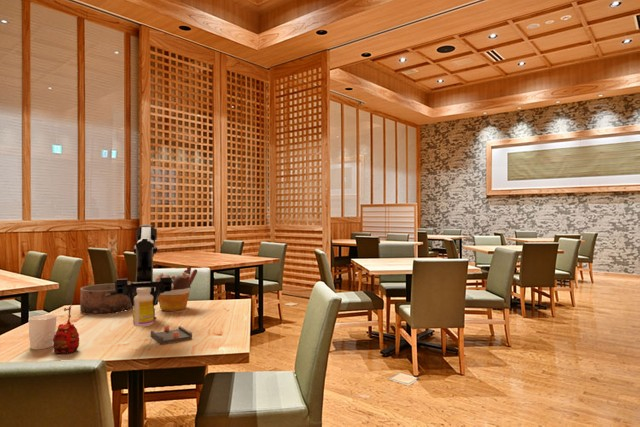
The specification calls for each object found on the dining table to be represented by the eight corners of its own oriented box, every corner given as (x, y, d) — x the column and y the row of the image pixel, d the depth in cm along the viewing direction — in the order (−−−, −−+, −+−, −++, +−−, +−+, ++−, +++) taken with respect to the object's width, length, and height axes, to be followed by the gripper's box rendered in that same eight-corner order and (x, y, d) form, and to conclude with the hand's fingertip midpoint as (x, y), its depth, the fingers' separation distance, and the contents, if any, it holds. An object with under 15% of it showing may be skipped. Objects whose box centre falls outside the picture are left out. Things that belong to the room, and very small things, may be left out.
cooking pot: (67, 309, 199) (68, 286, 199) (113, 301, 217) (114, 281, 217) (99, 318, 181) (99, 293, 181) (146, 309, 199) (146, 287, 199)
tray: (150, 336, 153) (150, 327, 153) (180, 331, 160) (180, 323, 160) (160, 344, 144) (160, 335, 144) (191, 339, 150) (192, 330, 150)
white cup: (36, 343, 144) (37, 314, 144) (60, 343, 145) (61, 314, 145) (22, 350, 136) (23, 320, 137) (48, 350, 137) (48, 319, 137)
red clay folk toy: (47, 354, 132) (48, 307, 133) (61, 348, 140) (62, 303, 140) (71, 354, 133) (72, 307, 133) (84, 348, 140) (84, 303, 140)
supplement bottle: (157, 323, 148) (158, 287, 148) (143, 328, 142) (144, 290, 142) (143, 321, 151) (143, 286, 151) (128, 326, 145) (129, 289, 145)
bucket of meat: (165, 314, 188) (166, 270, 188) (145, 309, 198) (146, 267, 198) (202, 307, 204) (202, 266, 204) (182, 303, 214) (182, 264, 214)
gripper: (170, 281, 164) (171, 315, 154) (118, 283, 157) (115, 319, 147) (171, 263, 157) (172, 298, 147) (116, 265, 150) (113, 302, 140)
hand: (143, 305), depth 145 cm, fingers closed on supplement bottle, 7 cm apart
